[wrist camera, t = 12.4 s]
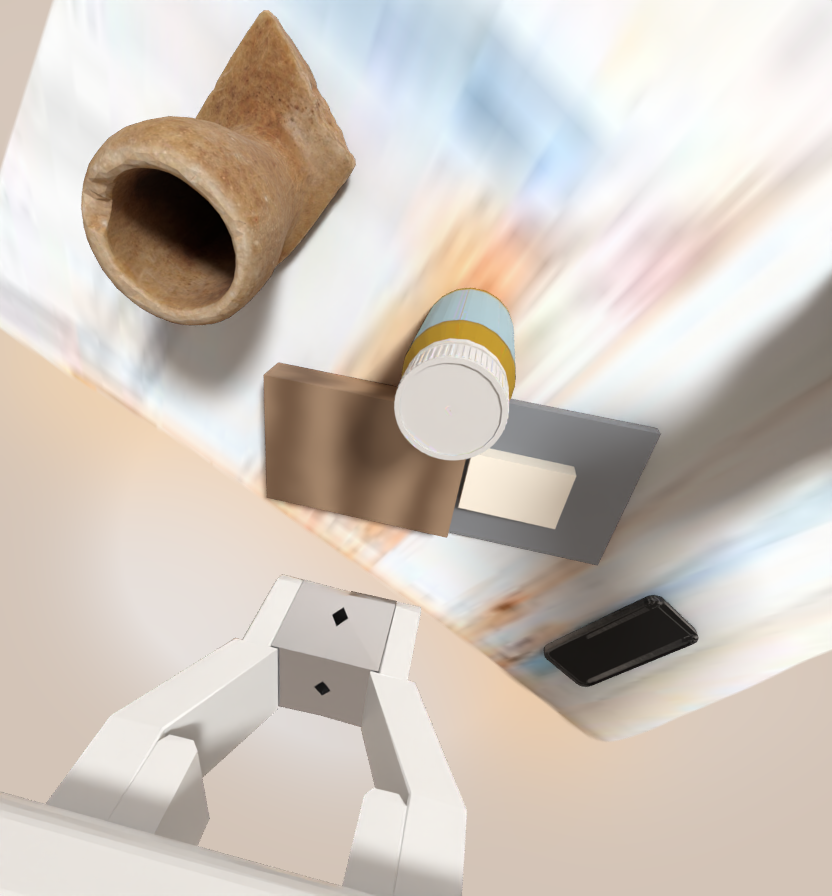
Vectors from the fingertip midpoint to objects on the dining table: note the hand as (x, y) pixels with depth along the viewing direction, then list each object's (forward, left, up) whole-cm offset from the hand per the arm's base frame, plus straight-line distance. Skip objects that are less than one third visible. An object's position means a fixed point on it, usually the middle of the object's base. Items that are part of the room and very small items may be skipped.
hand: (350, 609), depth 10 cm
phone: (-24, +34, -32) cm, 52 cm away
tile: (-8, +16, -30) cm, 35 cm away
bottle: (-1, +3, -31) cm, 31 cm away
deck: (+6, +15, -31) cm, 35 cm away
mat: (-11, +15, -31) cm, 36 cm away
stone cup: (+15, -5, -31) cm, 35 cm away
